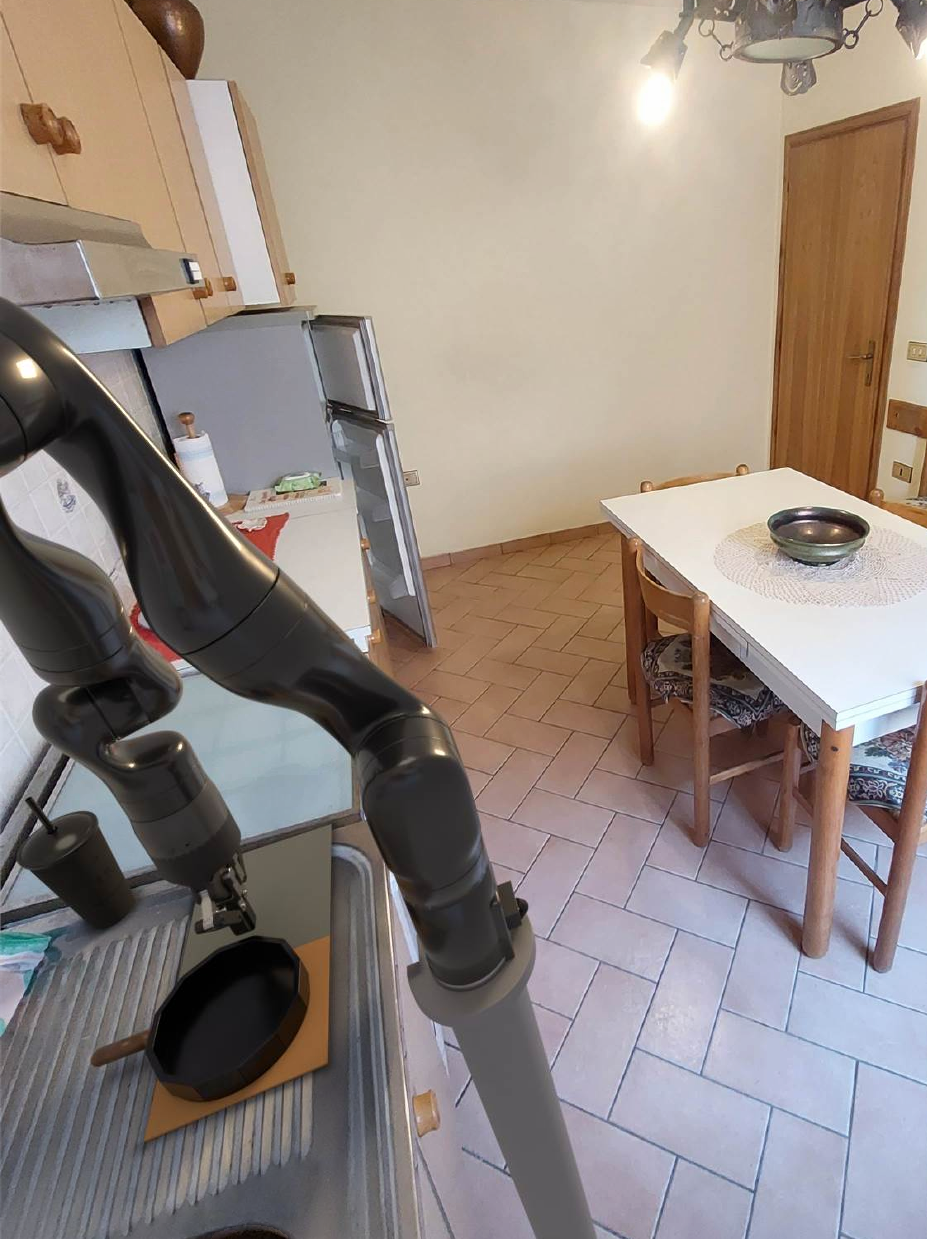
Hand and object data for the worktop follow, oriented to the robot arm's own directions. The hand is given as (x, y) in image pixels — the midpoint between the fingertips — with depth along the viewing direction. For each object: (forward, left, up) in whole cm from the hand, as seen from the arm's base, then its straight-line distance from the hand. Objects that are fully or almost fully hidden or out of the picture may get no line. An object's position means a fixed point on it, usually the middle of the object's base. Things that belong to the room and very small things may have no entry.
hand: (246, 927), depth 75 cm
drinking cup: (+18, -12, -3) cm, 22 cm away
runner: (0, +1, -3) cm, 3 cm away
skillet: (+3, +9, -3) cm, 10 cm away
